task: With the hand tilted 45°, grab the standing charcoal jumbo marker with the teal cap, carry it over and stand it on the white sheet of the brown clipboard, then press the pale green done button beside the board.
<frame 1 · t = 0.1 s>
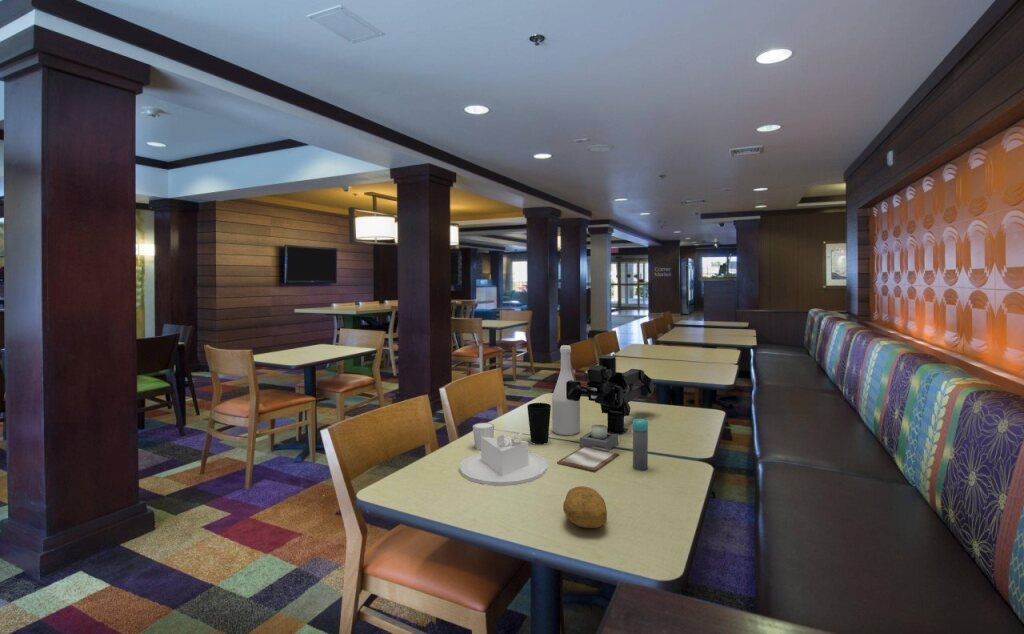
hand: (581, 398, 156), 17 cm above the table, tool horizontal, fingers open, 9 cm apart
dish: (503, 469, 146), on the table
potato: (584, 522, 113), on the table
cup: (539, 442, 168), on the table
shot glass: (483, 447, 164), on the table
button housing: (599, 445, 163), on the table
marker: (640, 467, 144), on the table
clipboard: (588, 459, 151), on the table
done button: (599, 432, 163), point 4 cm above the table, slide at 0.0 cm
wine bottle: (566, 432, 178), on the table
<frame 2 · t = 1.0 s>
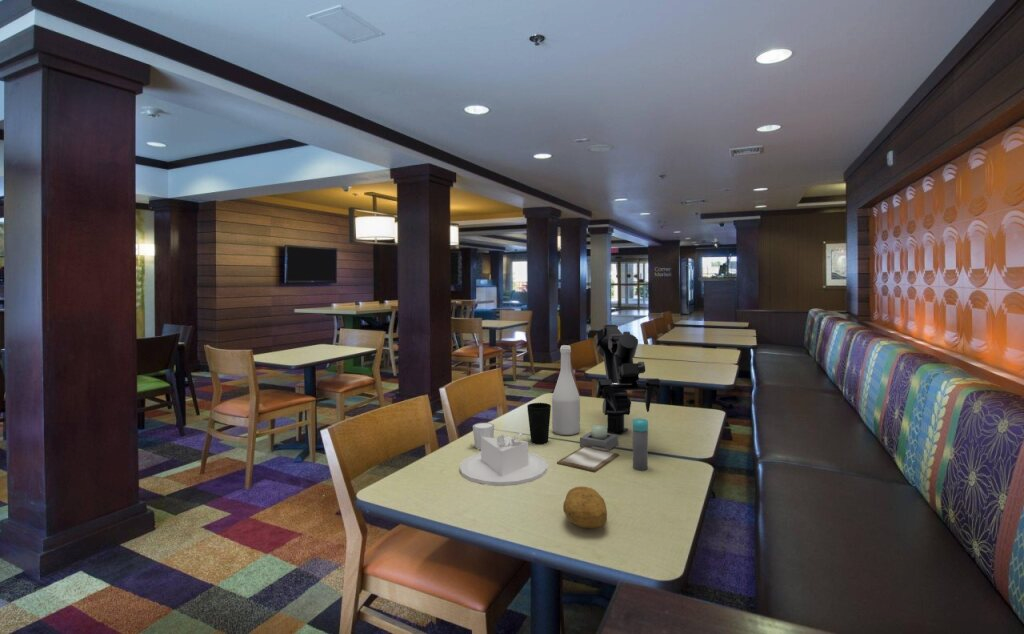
hand: (632, 411, 151), 14 cm above the table, tool tilted 45°, fingers open, 9 cm apart
nothing on the table moved.
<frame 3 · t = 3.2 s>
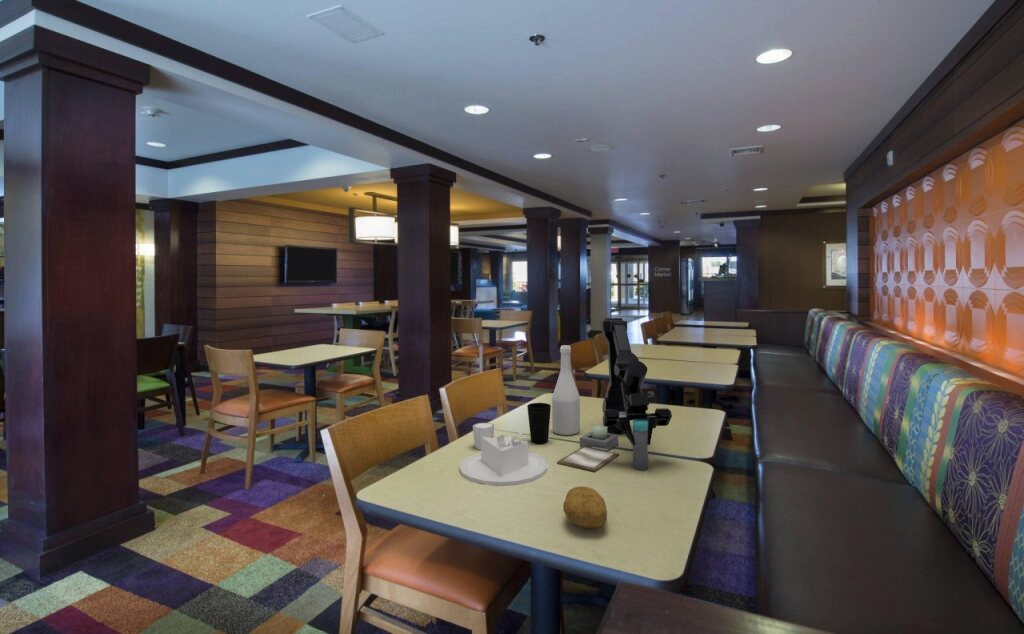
hand: (641, 444, 142), 7 cm above the table, tool tilted 45°, fingers closed on marker, 4 cm apart
marker: (640, 467, 144), on the table, touching gripper
everything else where it was.
when the fingers open (9 cm above the table, at t = 6.3 s): marker stays where it is, resting on clipboard.
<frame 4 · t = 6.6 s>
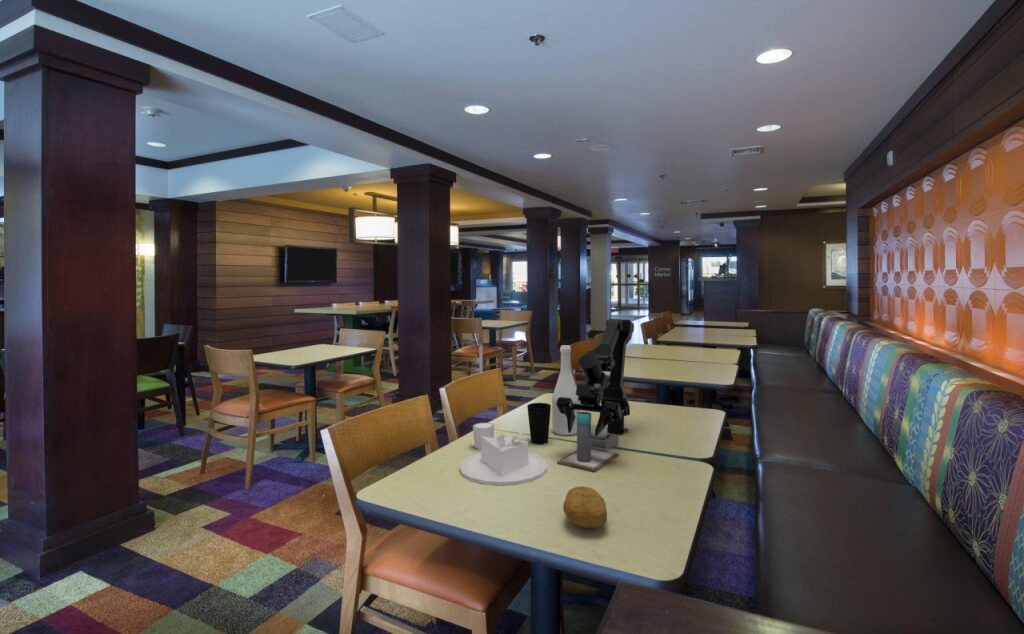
hand: (582, 433, 147), 9 cm above the table, tool tilted 45°, fingers open, 8 cm apart
marker: (583, 459, 149), point 1 cm above the table, touching clipboard
everything else where it was.
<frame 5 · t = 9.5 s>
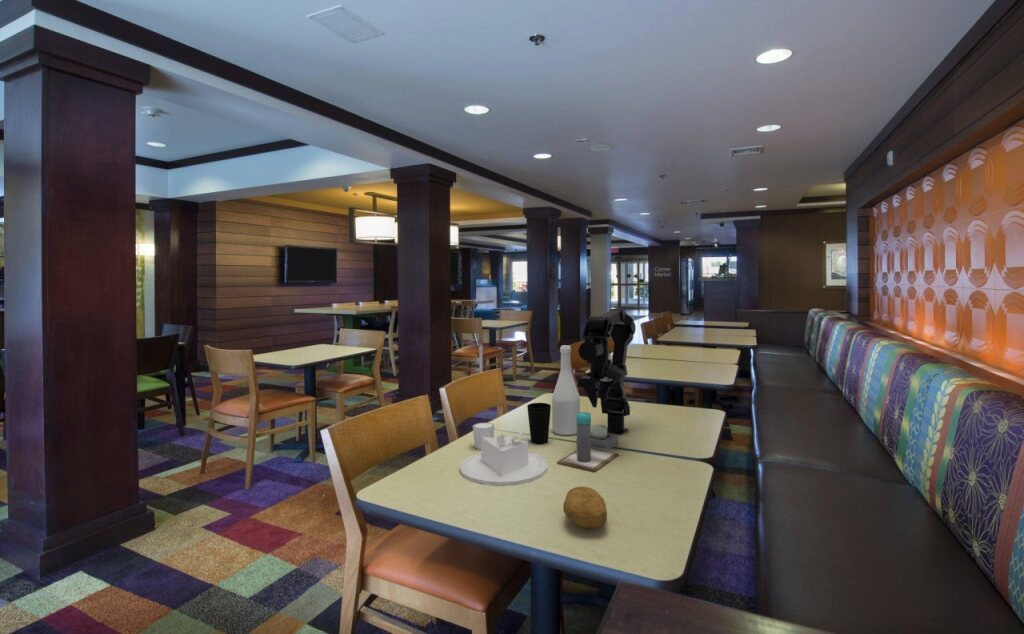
hand: (599, 405, 162), 13 cm above the table, tool pointing down, fingers open, 6 cm apart
nothing on the table moved.
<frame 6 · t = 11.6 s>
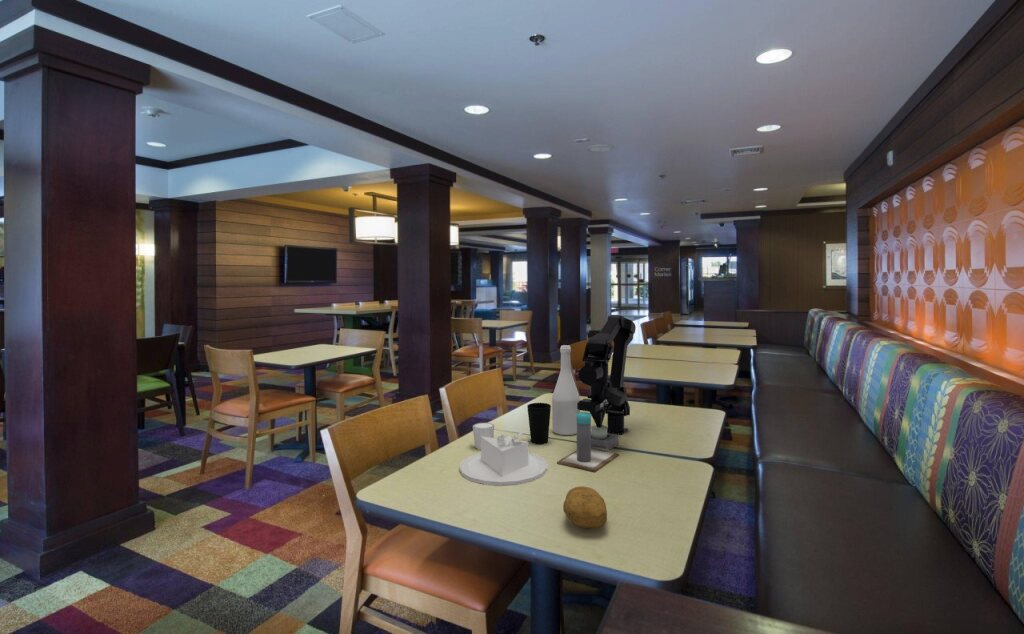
hand: (599, 427, 163), 6 cm above the table, tool pointing down, fingers closed, pressing on done button
done button: (599, 432, 163), point 4 cm above the table, slide at 0.1 cm, touching gripper
everything else where it was.
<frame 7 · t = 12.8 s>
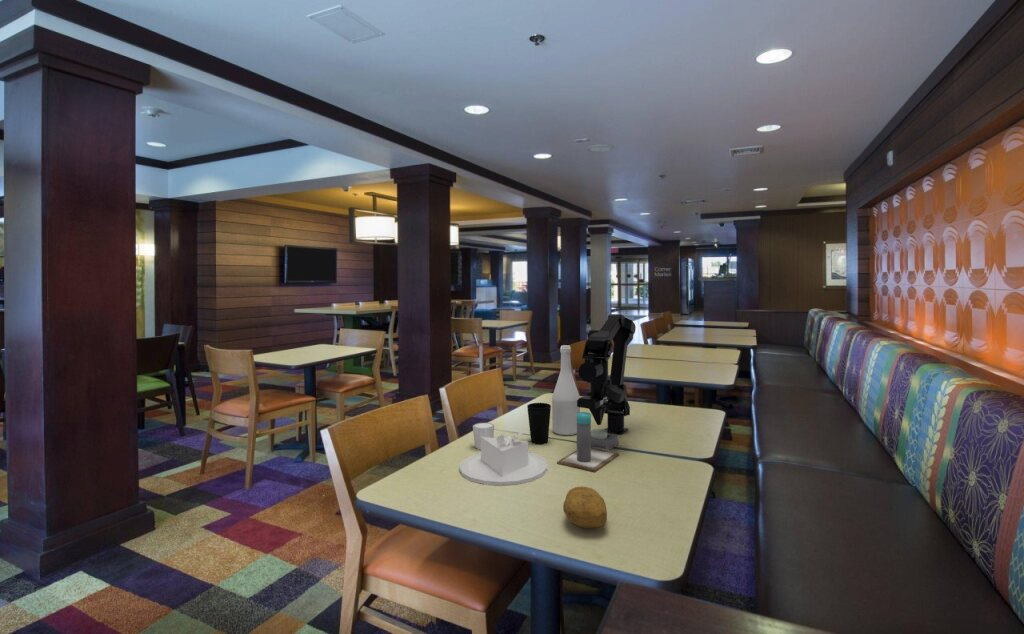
hand: (599, 424, 163), 7 cm above the table, tool pointing down, fingers closed
done button: (599, 436, 163), point 3 cm above the table, slide at 1.4 cm
everything else where it was.
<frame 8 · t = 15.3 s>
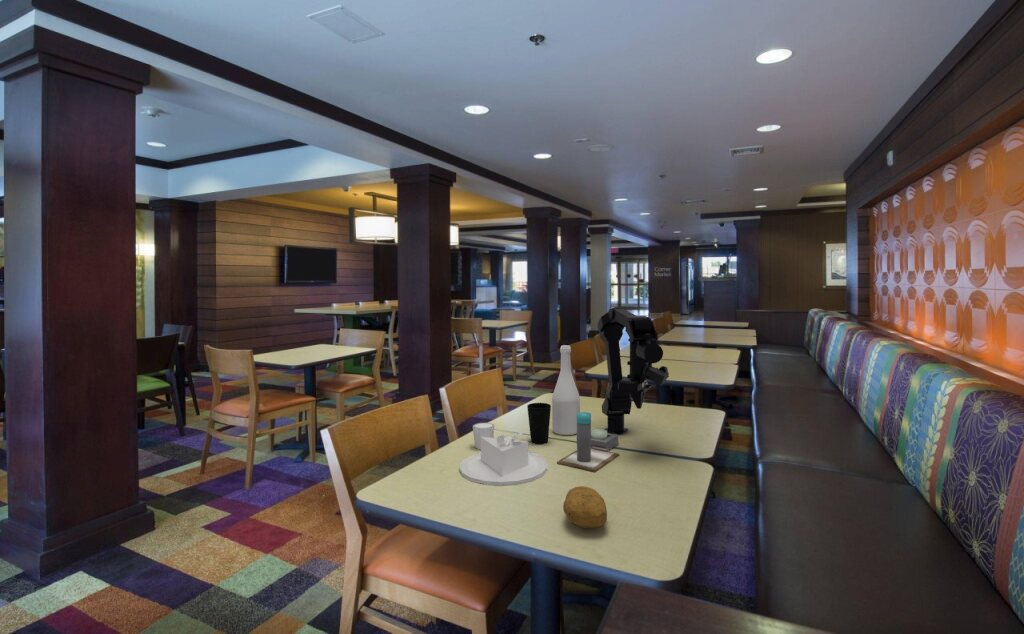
hand: (639, 408, 158), 13 cm above the table, tool pointing down, fingers closed
nothing on the table moved.
at the end: marker inside the target area on the clipboard (3.0 cm from its centre), point 0.8 cm above the clipboard's base; marker tilted 0°; done button slide at 1.4 cm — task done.
